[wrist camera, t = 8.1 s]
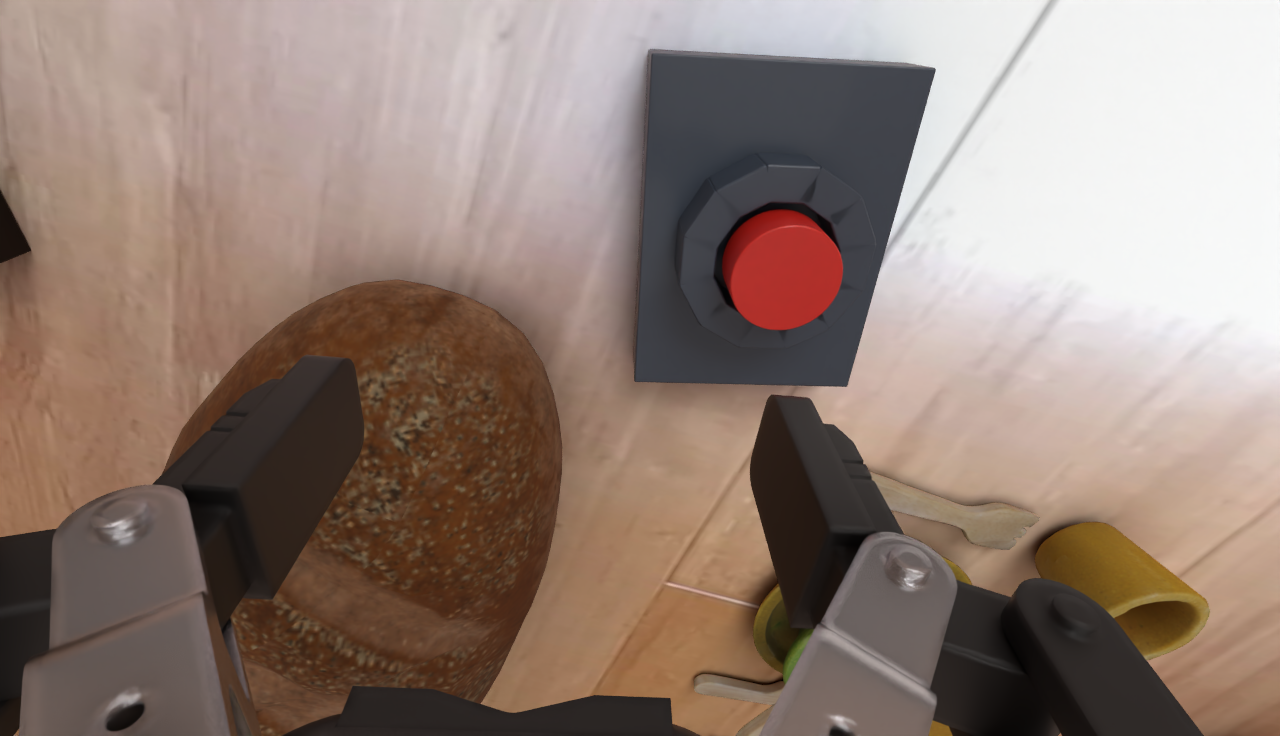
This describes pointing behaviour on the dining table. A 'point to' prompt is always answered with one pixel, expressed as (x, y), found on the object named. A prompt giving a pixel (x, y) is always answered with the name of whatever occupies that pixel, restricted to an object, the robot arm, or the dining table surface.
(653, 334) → the button block
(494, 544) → the bread
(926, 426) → the dining table surface
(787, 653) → the tableware set
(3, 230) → the panel
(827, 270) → the button
